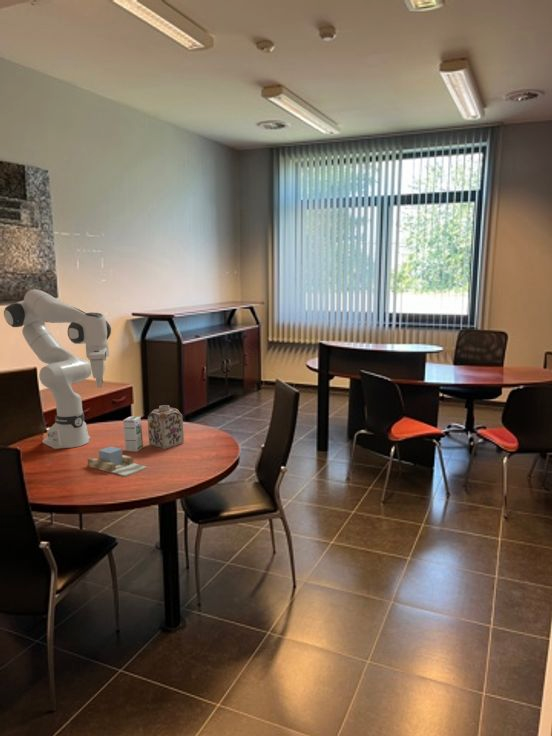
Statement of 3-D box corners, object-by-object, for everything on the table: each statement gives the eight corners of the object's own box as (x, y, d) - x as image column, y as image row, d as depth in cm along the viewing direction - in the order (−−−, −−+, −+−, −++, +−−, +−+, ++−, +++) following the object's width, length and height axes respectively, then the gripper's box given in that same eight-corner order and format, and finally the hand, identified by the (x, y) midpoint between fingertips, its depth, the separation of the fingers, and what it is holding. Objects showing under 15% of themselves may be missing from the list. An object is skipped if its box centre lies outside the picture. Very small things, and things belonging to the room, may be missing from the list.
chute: (87, 465, 218) (87, 458, 217) (109, 458, 227) (109, 451, 226) (125, 476, 205) (124, 469, 205) (147, 468, 214) (146, 460, 214)
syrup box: (137, 451, 235) (135, 419, 232) (125, 451, 236) (122, 419, 233) (143, 447, 240) (141, 416, 238) (131, 447, 241) (128, 416, 239)
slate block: (99, 464, 217) (98, 450, 216) (111, 460, 222) (110, 446, 221) (110, 467, 214) (109, 453, 212) (122, 463, 218) (121, 449, 217)
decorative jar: (164, 449, 236) (161, 410, 233) (148, 444, 244) (145, 406, 241) (185, 443, 245) (183, 405, 242) (169, 438, 253) (167, 401, 250)
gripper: (91, 349, 228) (93, 381, 230) (87, 356, 208) (90, 390, 211) (106, 349, 229) (109, 380, 232) (104, 355, 210) (107, 389, 212)
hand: (100, 385), depth 221 cm, fingers open, 8 cm apart
